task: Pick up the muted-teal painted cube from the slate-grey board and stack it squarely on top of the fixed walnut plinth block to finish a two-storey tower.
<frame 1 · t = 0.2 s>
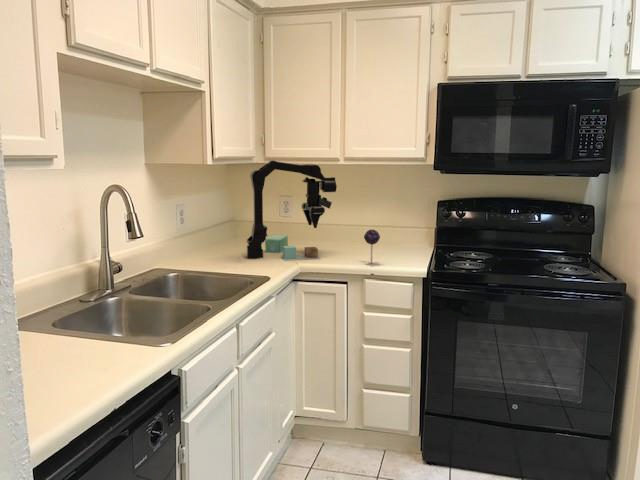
hand: (312, 226, 244), 14 cm above the worktop, fingers open, 9 cm apart
teal block: (289, 257, 239), point 1 cm above the worktop, touching board
box: (276, 252, 257), on the worktop
walnut base: (311, 256, 241), resting on board
board: (300, 259, 240), on the worktop
lollipop: (371, 264, 232), on the worktop
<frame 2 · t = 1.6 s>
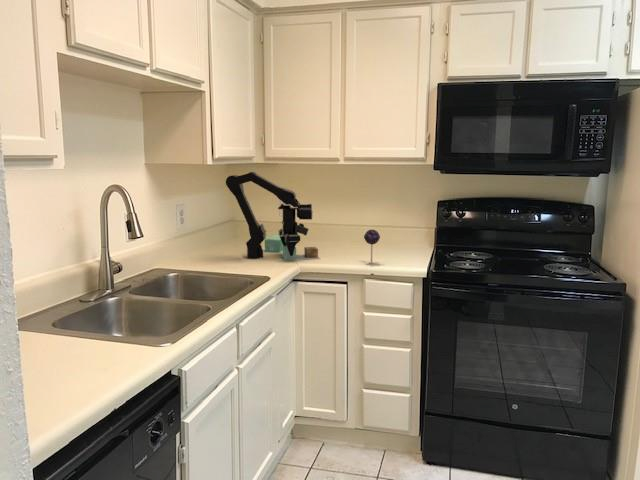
hand: (289, 253, 238), 3 cm above the worktop, fingers open, 9 cm apart
nothing on the worktop moved.
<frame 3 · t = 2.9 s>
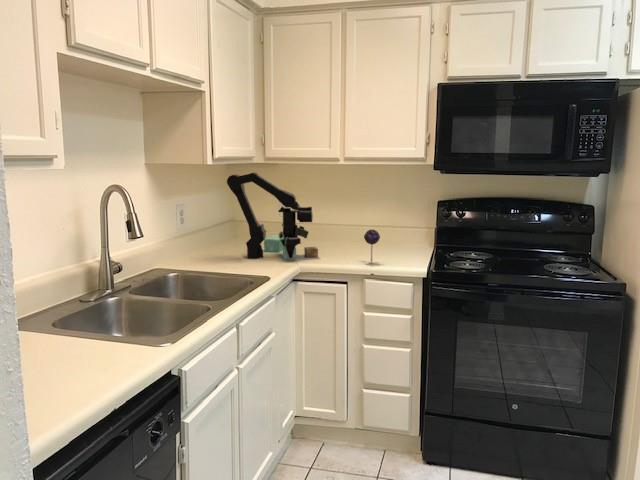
hand: (289, 256, 239), 2 cm above the worktop, fingers closed on teal block, 5 cm apart
teal block: (289, 257, 239), point 1 cm above the worktop, touching board, gripper
everything else where it was.
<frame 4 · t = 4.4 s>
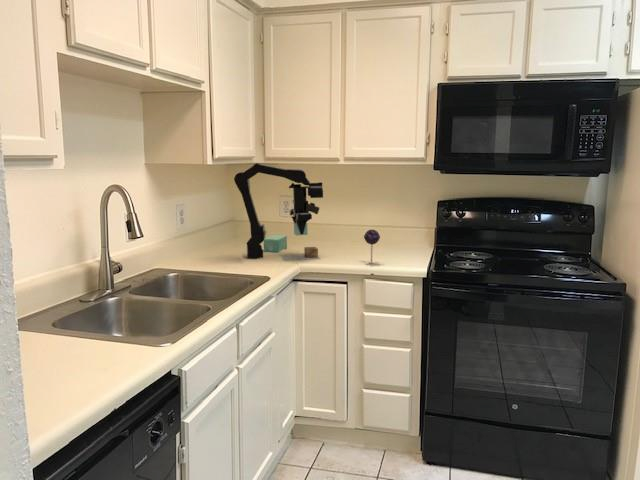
hand: (300, 233, 238), 12 cm above the worktop, fingers closed on teal block, 5 cm apart
teal block: (300, 234, 238), point 11 cm above the worktop, touching gripper
everything else where it was.
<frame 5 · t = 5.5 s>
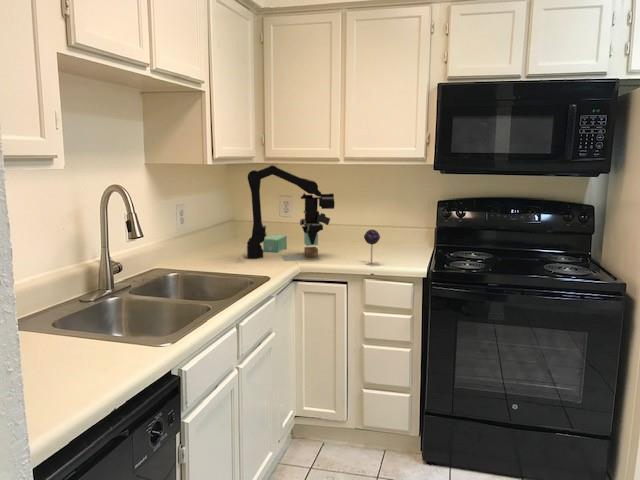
hand: (311, 243, 240), 7 cm above the worktop, fingers closed on teal block, 5 cm apart
teal block: (311, 244, 240), point 7 cm above the worktop, touching gripper
everything else where it was.
when the fingers open (7 cm above the worktop, at t = 6.4 s): teal block drops 1 cm, resting on walnut base.
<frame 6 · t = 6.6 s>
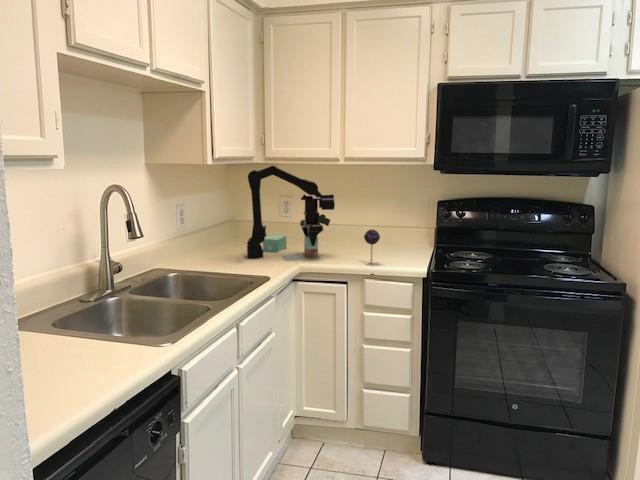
hand: (311, 244, 240), 7 cm above the worktop, fingers open, 7 cm apart
teal block: (311, 248, 241), point 5 cm above the worktop, touching walnut base
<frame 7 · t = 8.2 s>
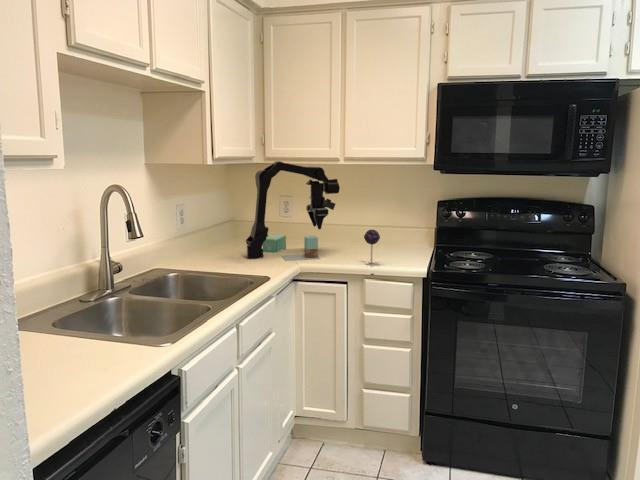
hand: (317, 227, 249), 13 cm above the worktop, fingers open, 9 cm apart
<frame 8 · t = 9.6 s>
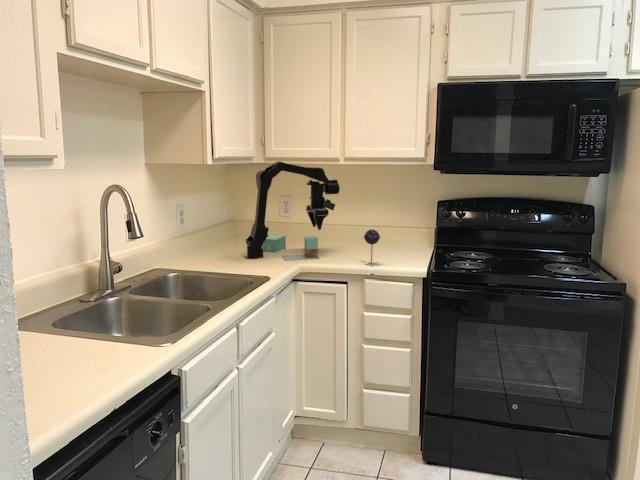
hand: (316, 228, 249), 12 cm above the worktop, fingers open, 9 cm apart
at the end: teal block 0.0 cm off-centre on the walnut base, point 4.0 cm above the walnut base's base; teal block tilted 0°; the gripper is holding nothing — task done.
